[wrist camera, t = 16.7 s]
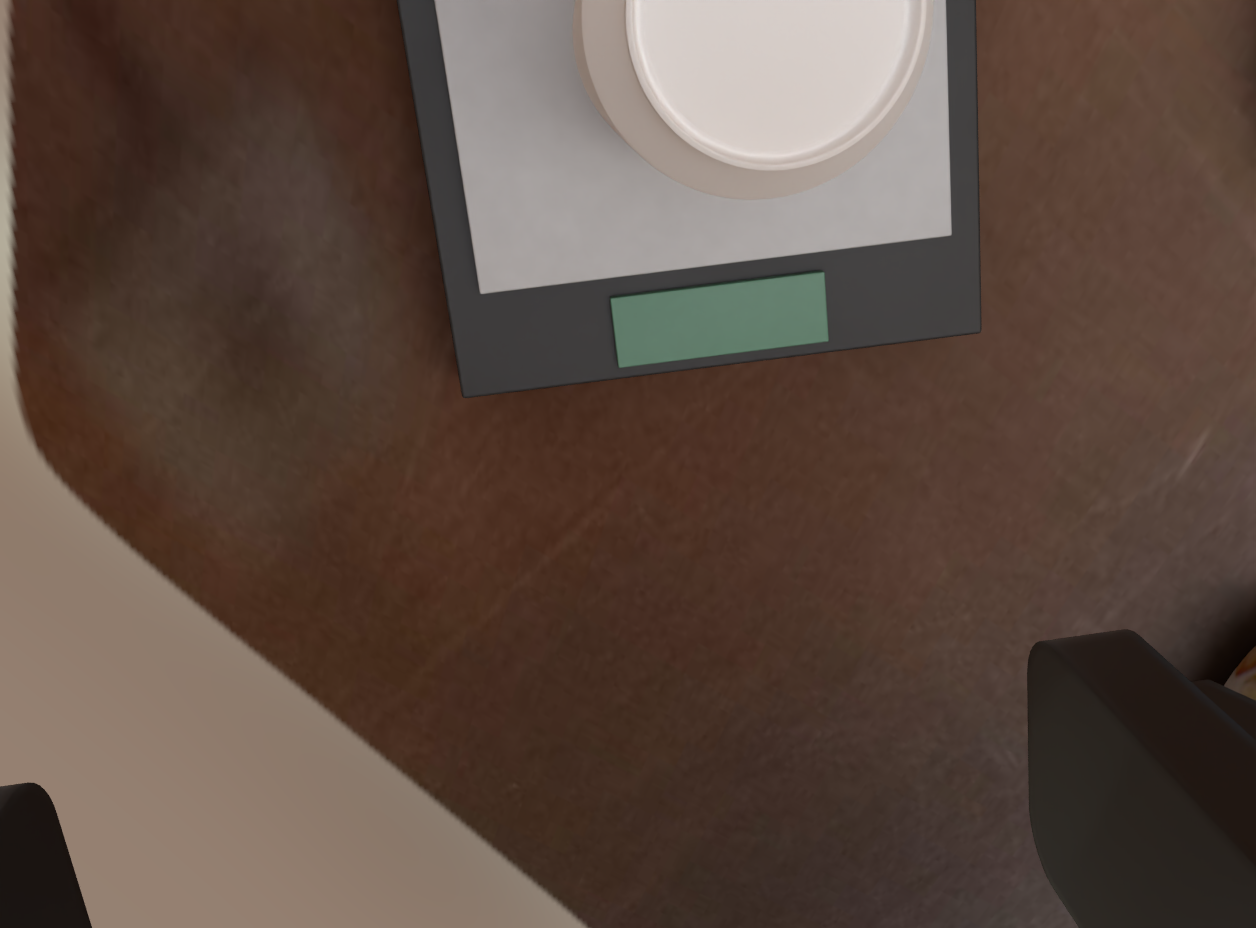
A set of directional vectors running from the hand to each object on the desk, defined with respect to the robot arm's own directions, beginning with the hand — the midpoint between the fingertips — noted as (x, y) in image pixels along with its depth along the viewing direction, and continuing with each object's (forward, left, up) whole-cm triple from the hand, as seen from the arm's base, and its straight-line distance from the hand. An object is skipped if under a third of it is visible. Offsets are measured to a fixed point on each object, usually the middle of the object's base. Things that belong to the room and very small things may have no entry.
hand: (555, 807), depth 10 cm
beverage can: (+4, +6, -24) cm, 25 cm away
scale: (+5, +5, -27) cm, 28 cm away
